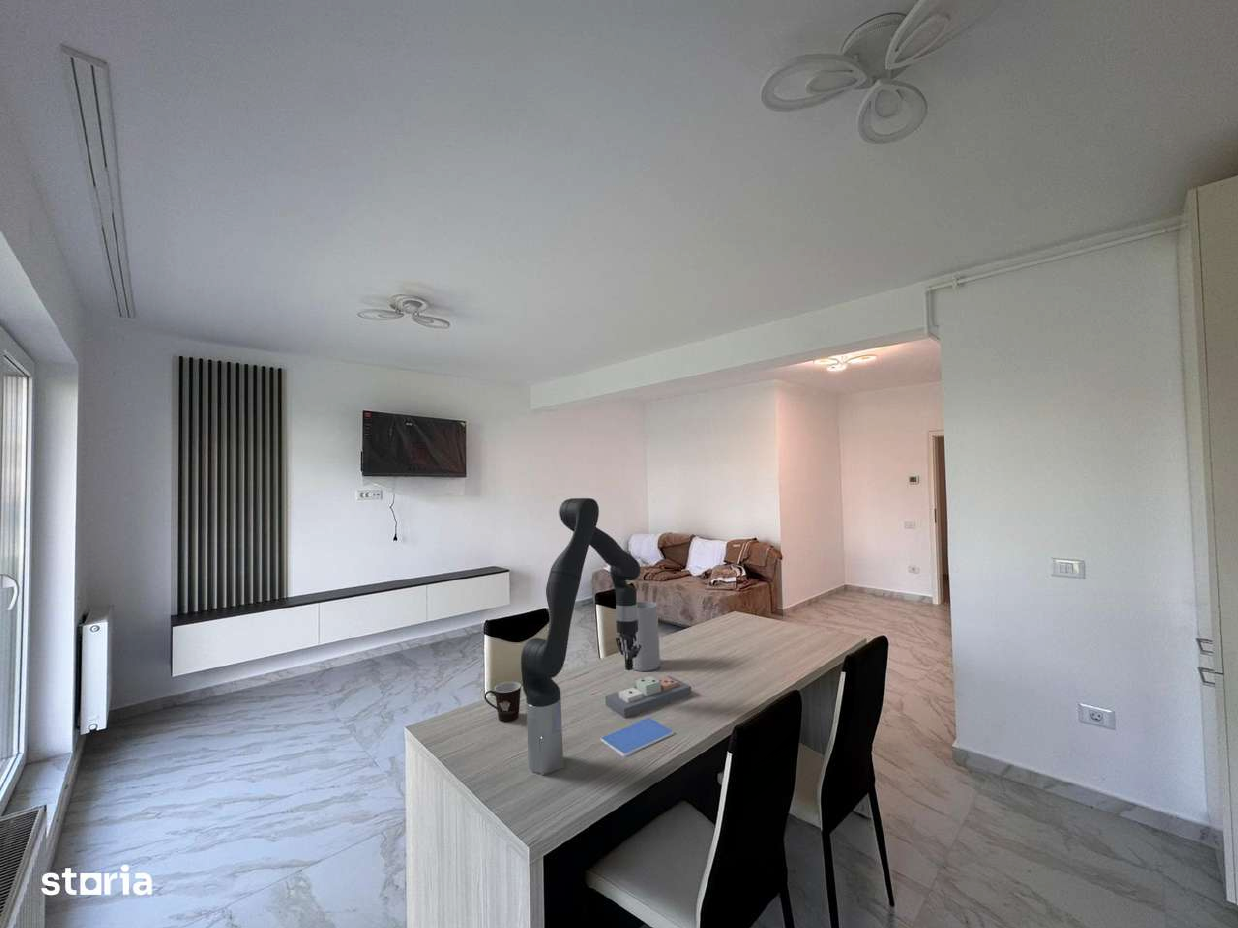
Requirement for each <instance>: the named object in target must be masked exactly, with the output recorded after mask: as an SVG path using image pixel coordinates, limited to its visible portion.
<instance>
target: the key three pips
mask: <svg viewBox="0 0 1238 928" xmlns="http://www.w3.org/2000/svg"><path fill="white" fill-rule="evenodd" d="M665 677H666V678H665ZM665 677H663V678H660V679H657V680H658V681H660V685H661V690H663V691H666V690H669V689H672V688H675V687H678V682H676V681H674V680H672V679H670V678H668V676H665Z"/></svg>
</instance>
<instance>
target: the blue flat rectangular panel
mask: <svg viewBox="0 0 1238 928" xmlns="http://www.w3.org/2000/svg"><path fill="white" fill-rule="evenodd" d="M673 735H675V731H674V730H673V729H671V728H670V727H668V726H666V725H663V724H662V723H660V722H658V721H657V720H654V719H653V718H651V717H645V718H644V719H642V720H639V721H637V722H635V723H633V724H630V725H627V726H626V727H623V728H621V729H619V730H615V731H614V732H611V733H608V734H606V735H604V736H602V737H600V739H599V741H600V742H602V743H603V745H604V744H605V745H606V746H608V748H610V749H612V750H613V751H614V752H616V753H617V754H618V755H620V756H621V757H623V758H625V757H626V758H627V757H629V756H631V755H633V754H635V753H637V752H639V751H641V750H643V749H645V748H647V747H650V746H651V745H654V744H656V743H658V742H660V741H662V740H664V739H667V738H669V737H671V736H673Z"/></svg>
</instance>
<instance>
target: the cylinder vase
mask: <svg viewBox="0 0 1238 928" xmlns="http://www.w3.org/2000/svg"><path fill="white" fill-rule="evenodd" d="M637 609H638V629H639V630H638V632H637V633H636V638H637V641H636V642H637V644H638V645H641V649H640V651H639V653H638V655H637V657H636V658H633V669H632V670H634V671H637V672H649V671H654V670H656V669H658V668H660V666H661V655H660V654H661V653H660V640H659V638H660V635H659V620H658V619H659V617H658V603H656V602H653V601H637Z"/></svg>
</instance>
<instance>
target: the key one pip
mask: <svg viewBox="0 0 1238 928" xmlns="http://www.w3.org/2000/svg"><path fill="white" fill-rule="evenodd" d="M623 690H624V691H623ZM623 690H620V691H618V694H619V698H621V699H622V700H624V701H625V702H627V703H630V702H633V701H636V700H639V699H642V698H643V693H641V692H640V691H638V690H636V689H635V688H633V687H630V688H628V689H623Z"/></svg>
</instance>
